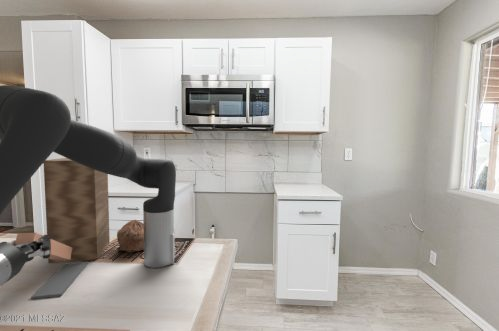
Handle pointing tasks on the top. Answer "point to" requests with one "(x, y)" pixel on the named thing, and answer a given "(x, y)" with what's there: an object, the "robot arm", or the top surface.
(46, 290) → the mat
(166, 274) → the top surface
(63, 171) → the stand
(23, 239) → the tan wooden bar
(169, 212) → the robot arm
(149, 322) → the top surface
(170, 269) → the top surface
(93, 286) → the top surface
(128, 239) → the decorative rock
